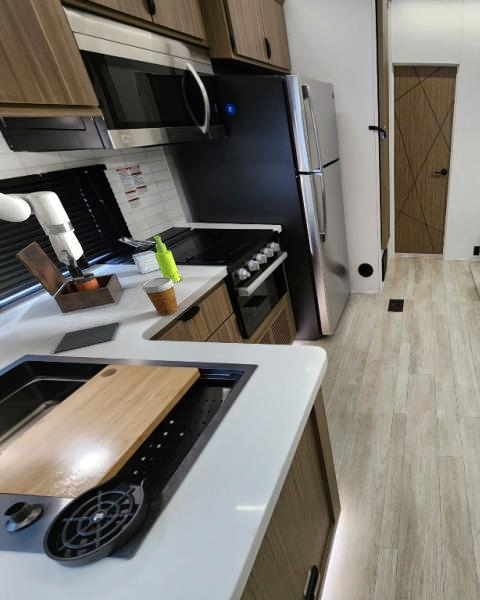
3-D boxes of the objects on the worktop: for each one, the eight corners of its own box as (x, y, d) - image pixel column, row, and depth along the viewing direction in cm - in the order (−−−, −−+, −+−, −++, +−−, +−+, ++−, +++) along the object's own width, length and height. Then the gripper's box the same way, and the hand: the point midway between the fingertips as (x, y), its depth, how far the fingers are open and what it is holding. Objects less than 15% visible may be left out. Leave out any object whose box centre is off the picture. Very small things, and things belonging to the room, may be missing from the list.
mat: (54, 353, 101) (54, 352, 101) (66, 334, 110) (66, 333, 110) (111, 340, 107) (111, 339, 106) (118, 322, 116) (117, 322, 116)
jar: (81, 304, 126) (68, 281, 122) (85, 297, 131) (73, 274, 127) (103, 300, 129) (91, 277, 124) (106, 294, 134) (95, 271, 129)
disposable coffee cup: (174, 302, 129) (163, 274, 123) (188, 308, 124) (177, 279, 119) (148, 313, 122) (135, 284, 116) (161, 320, 117) (149, 290, 112)
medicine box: (157, 266, 161) (150, 250, 157) (161, 268, 159) (154, 251, 155) (138, 272, 156) (131, 254, 152) (142, 274, 153) (135, 256, 149)
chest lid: (35, 241, 121) (32, 242, 121) (18, 254, 109) (15, 255, 109) (67, 279, 130) (64, 280, 130) (54, 295, 118) (51, 296, 117)
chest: (122, 289, 140) (115, 273, 136) (116, 304, 128) (108, 287, 124) (75, 297, 133) (66, 281, 130) (63, 314, 121) (53, 297, 118)
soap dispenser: (177, 275, 152) (162, 233, 142) (182, 280, 147) (166, 236, 138) (163, 279, 148) (146, 236, 139) (167, 284, 144) (150, 239, 134)
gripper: (52, 224, 122) (75, 266, 130) (35, 236, 109) (62, 283, 117) (78, 221, 125) (99, 263, 133) (65, 232, 112) (88, 278, 120)
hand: (81, 272), depth 125 cm, fingers open, 9 cm apart
